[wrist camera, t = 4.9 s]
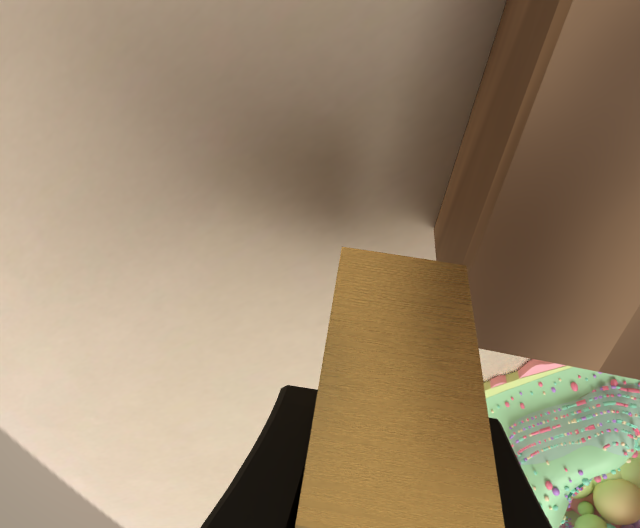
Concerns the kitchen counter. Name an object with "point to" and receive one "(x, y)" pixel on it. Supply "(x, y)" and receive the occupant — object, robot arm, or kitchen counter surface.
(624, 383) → the candy landscape model
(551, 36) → the coin box
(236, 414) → the kitchen counter surface
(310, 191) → the kitchen counter surface
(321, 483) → the wooden block
